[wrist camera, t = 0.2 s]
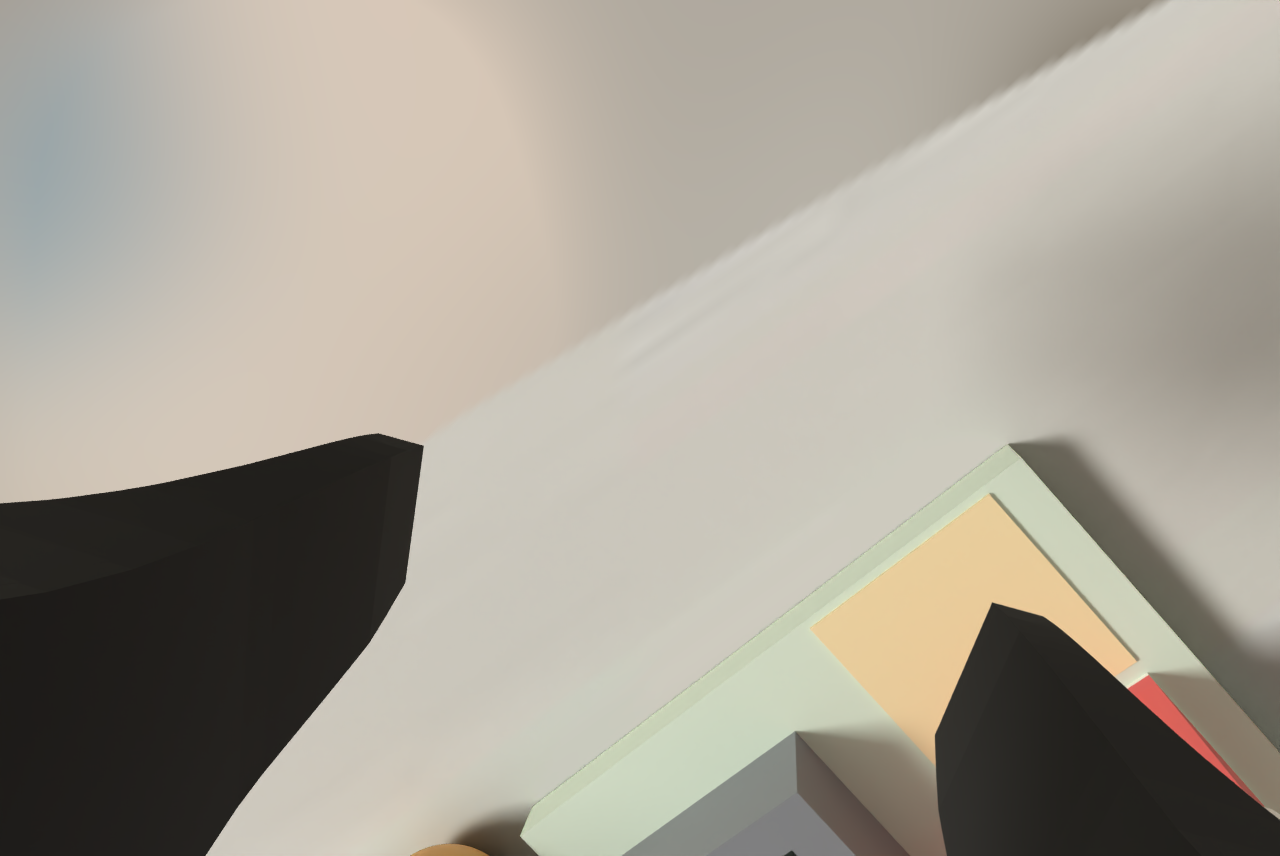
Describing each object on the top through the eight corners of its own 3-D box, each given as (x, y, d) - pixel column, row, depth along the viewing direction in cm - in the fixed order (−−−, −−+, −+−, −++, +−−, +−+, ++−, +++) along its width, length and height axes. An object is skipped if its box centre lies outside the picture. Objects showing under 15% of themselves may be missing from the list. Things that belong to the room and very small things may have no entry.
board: (800, 1087, 25) (802, 1132, 24) (532, 806, 24) (518, 838, 23) (1309, 789, 21) (1343, 824, 20) (1007, 444, 20) (1022, 459, 19)
